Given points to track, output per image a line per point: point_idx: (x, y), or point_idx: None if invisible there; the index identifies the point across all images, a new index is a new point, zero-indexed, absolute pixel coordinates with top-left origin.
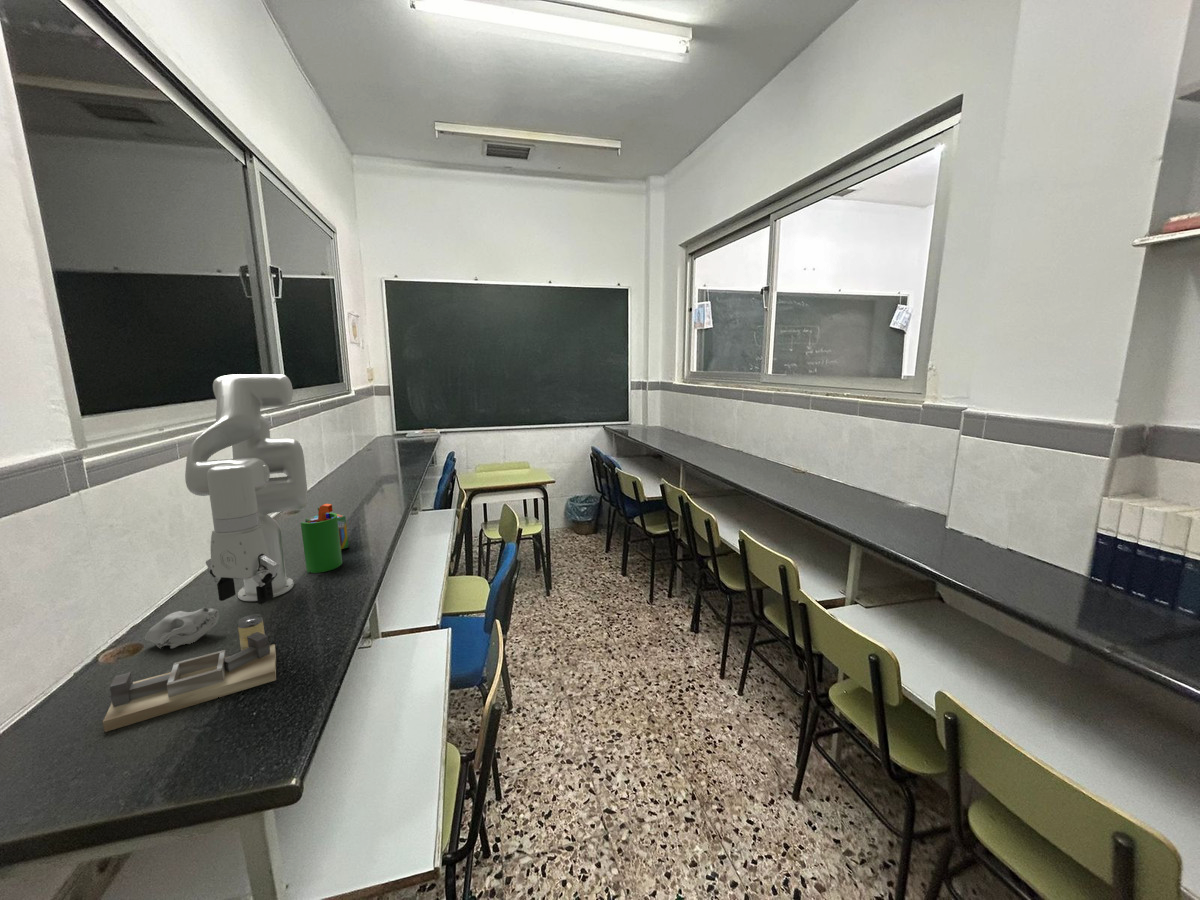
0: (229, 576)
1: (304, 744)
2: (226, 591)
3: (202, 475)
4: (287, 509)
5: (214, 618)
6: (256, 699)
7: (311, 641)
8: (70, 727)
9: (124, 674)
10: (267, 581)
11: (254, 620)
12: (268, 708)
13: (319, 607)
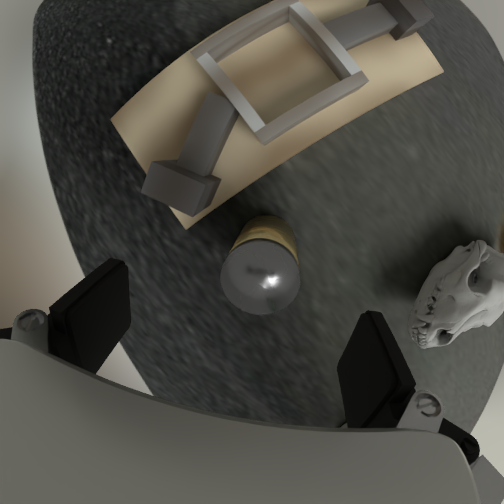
0: (219, 431)
1: (35, 35)
2: (361, 360)
3: None
4: None
5: (415, 322)
6: (125, 65)
7: (145, 268)
8: None
9: (420, 15)
10: (5, 328)
11: (234, 271)
12: (94, 56)
13: (229, 393)
